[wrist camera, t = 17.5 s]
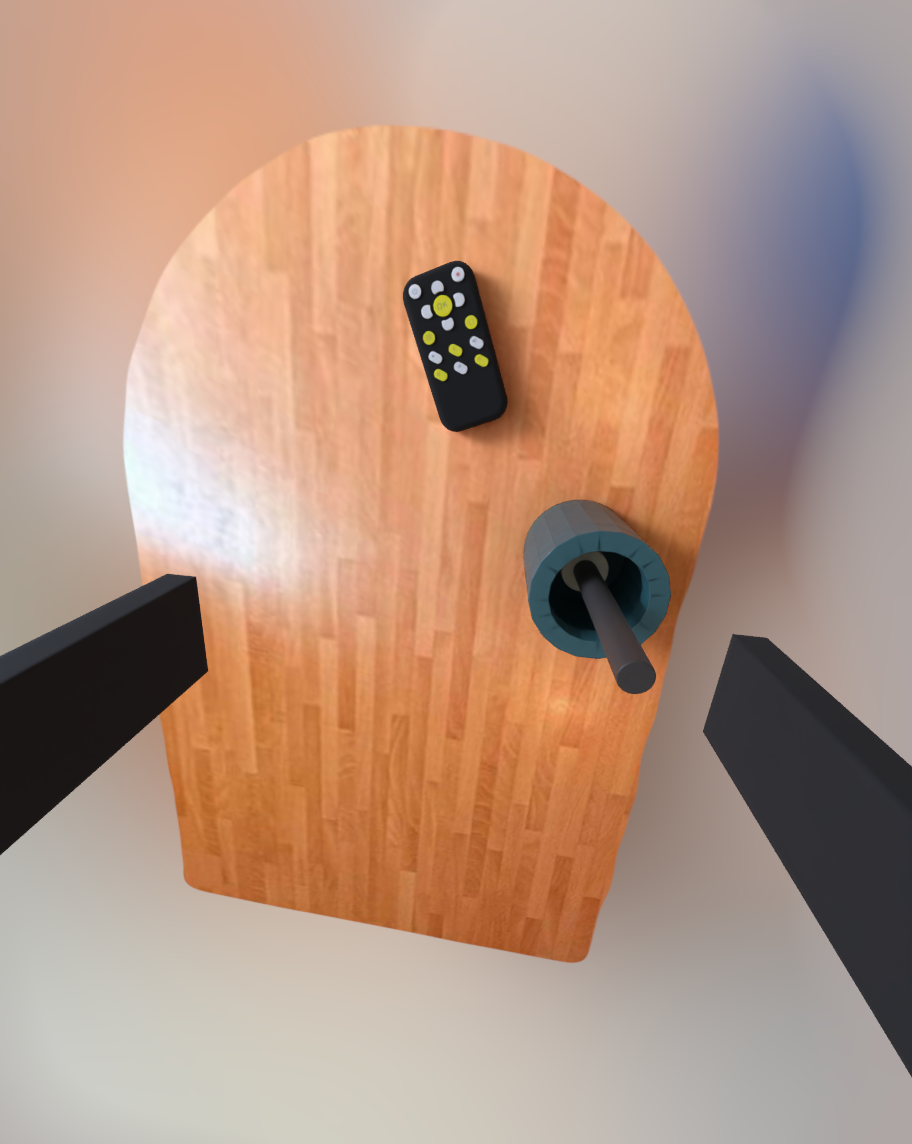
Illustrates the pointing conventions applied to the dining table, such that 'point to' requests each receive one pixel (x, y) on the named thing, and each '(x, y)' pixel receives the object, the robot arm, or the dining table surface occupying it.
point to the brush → (610, 622)
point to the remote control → (455, 346)
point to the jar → (629, 579)
